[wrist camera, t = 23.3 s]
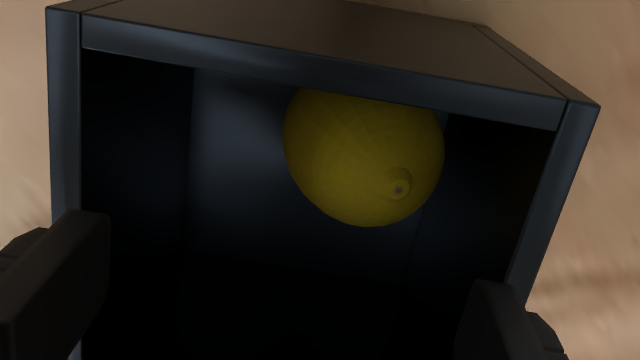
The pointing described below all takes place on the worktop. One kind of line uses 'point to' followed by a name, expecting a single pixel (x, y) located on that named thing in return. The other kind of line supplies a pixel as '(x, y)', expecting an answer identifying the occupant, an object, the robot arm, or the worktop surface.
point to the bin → (277, 183)
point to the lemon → (362, 155)
